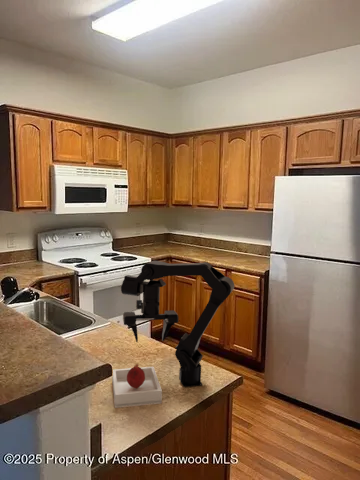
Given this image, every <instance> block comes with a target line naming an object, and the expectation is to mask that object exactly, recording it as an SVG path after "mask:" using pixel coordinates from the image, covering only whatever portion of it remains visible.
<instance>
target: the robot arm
mask: <svg viewBox="0 0 360 480" xmlns="http://www.w3.org/2000/svg"><path fill="white" fill-rule="evenodd" d="M140 269H141V271H140V273H139V274H138V275H137V276H133V275H130V274H125V275H124V276H123V278H124V279H123V281H122V283H121V286H120V291H121V293H122V295H124V296H125V295H127V296H133V297H134V296H135V297H140V296H141V295H142V300H141V299H136V301H135V303H136V304H135V307H136V310H140V311H141V312H140V313H141V314H136V313H135V311H124V313H123V314H122V321H123V325H124V326H127V327H128V328H130V329H131V330H132V333H133V335H134V338H135V342H136V343H139V342H138V341H139V340H138V339H139V337H138V325H137V322H139V321H158V320H159V321H161V320H162V321H163V325H162V326H163V327H162V333H161V341H162V342H164V341H165V339H166V337H167V335H168V333H169V331H170V329H171V328H172V327H173V326H175V324H178V323H179V319H180V318H179V314H178V313H177V312H176V311H175V310H174V309H173V310H172V309H171V310H164V313H160V296H161V293H160V292H161V288H163V287H164V286H166V285H167V283H166V281H164V280H163V279H162V278H165V277H178V276H179V277H182V276H185V277H186V276H187V277H188V276H189V277H190V276H192V277H193V276H200V277H201V278H202V279H203V280H204V282H206V284H207V285H208V287H210V289H211V291H210V295H209V299H208V301H207V304H206V306H205V307H204V309H203V311H202V312H201V314H200V316H199V317H198V319H197V321H196V323H195V325H194V326H193V328H192V329H191V331H190V333H189V334H188V333H187V332H185V333H184V334H183V335H182V337H181V338H180V339H179V342H178V344H177V345H176V346H175V348H174V349H175V352H174V355H175V358H176V359H177V360H178V362H179V366H180V367H179V369H178V370H179V372H178V373H179V375H178V378H179V382H180V383H181V385H182V387H183V388H187V387H188V388H191V387H198V386H199V387H202V386H203V383H202V381H201V380H202V365H201V361H202V359H203V357H204V356H203V354H202V353H201V352H200V351H199V349H198V348H199V345H200V341H201V338H202V336H203V334H204V332H205V331H206V330H207V328H208V326H209V324H210V323H211V321H212V319H213V318H214V316H215V315H216V312H217V311H218V309H219V308H220V306H222V304H223V303H224V302H225V301H226V299H227V298H228V297H229V296H230V295H231V294H232V293H233V291H234V289H235V282H234V280H233V279H232V278H231V277H229V276H225V274H224V273H222V272H221V271H219V269H217V268H215V267H214V266H213V265H212V264H211V263H209V262H206V261H205V262H195V263H194V262H190V263H189V262H187V263H169V262H166V261H161V260H152V261H148V262H146V263H144V264H143V266H141V268H140Z"/></svg>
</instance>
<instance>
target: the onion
mask: <svg viewBox="0 0 360 480" xmlns="http://www.w3.org/2000/svg"><path fill="white" fill-rule="evenodd" d="M130 368H131V367H130ZM144 381H145V373H144V371H143V370H142V369H141V366H140V367H139V364H138V363H136V364H134V366H133V367H132V368H131V369H130V370H129V372H128V374H127V382H128V384H129V385H130V386H131V387H133V388H135V389H136V388H138V387H140V386H141V385H142V384H143V383H144Z"/></svg>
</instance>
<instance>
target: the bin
mask: <svg viewBox="0 0 360 480" xmlns="http://www.w3.org/2000/svg"><path fill="white" fill-rule="evenodd" d="M140 368H141V369H142V370H143V371H144V373H145V381H144V383H143V384H142V385H141V386H140V387H138V388H136V389H135V388H133V387H131V386H130V385H129V384H128V382H127V374H128V372H129V370H130V369H131V367H129V368H115V369H112V370H113V376H112V377H111V379H112V380H111V381H112V391H113V392H112V393H113V401H114V408H115V409H117V408H127V407H136V406H139V407H140V406H147V405H159V404H162V401H163V400H162V399H163V390H162V388H161V384H160V380H159V379H158V376H157V372H156V369H155V367H154V366H145V367H144V366H143V367H141V366H140Z"/></svg>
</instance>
